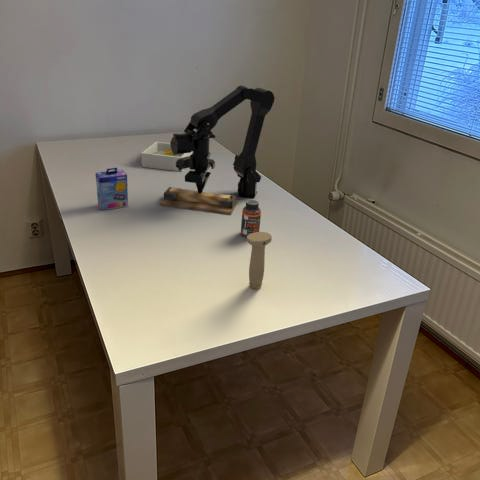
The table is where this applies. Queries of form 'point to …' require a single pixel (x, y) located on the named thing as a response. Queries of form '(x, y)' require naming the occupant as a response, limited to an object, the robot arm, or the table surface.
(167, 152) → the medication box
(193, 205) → the endcap frame
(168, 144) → the tray
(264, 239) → the handle
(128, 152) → the table surface
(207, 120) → the robot arm
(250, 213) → the supplement bottle
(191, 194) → the slat
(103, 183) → the ink cartridge box
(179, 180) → the table surface
